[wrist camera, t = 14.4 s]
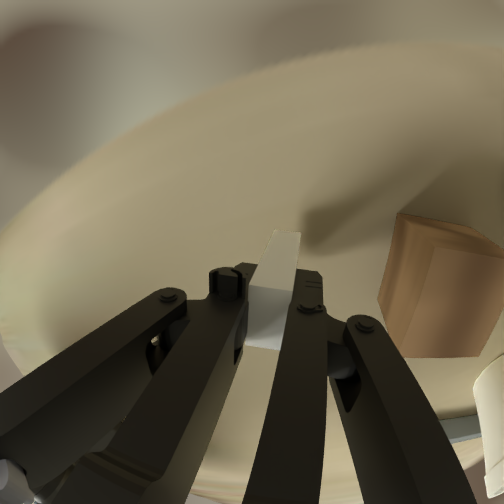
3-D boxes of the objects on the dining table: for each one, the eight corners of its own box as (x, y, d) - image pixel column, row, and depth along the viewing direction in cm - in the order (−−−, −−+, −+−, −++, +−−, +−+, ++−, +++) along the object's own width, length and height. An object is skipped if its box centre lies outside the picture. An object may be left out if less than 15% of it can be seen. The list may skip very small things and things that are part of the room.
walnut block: (377, 298, 17) (395, 357, 12) (396, 212, 15) (435, 246, 10) (446, 304, 16) (478, 356, 11) (470, 227, 14) (520, 262, 8)
